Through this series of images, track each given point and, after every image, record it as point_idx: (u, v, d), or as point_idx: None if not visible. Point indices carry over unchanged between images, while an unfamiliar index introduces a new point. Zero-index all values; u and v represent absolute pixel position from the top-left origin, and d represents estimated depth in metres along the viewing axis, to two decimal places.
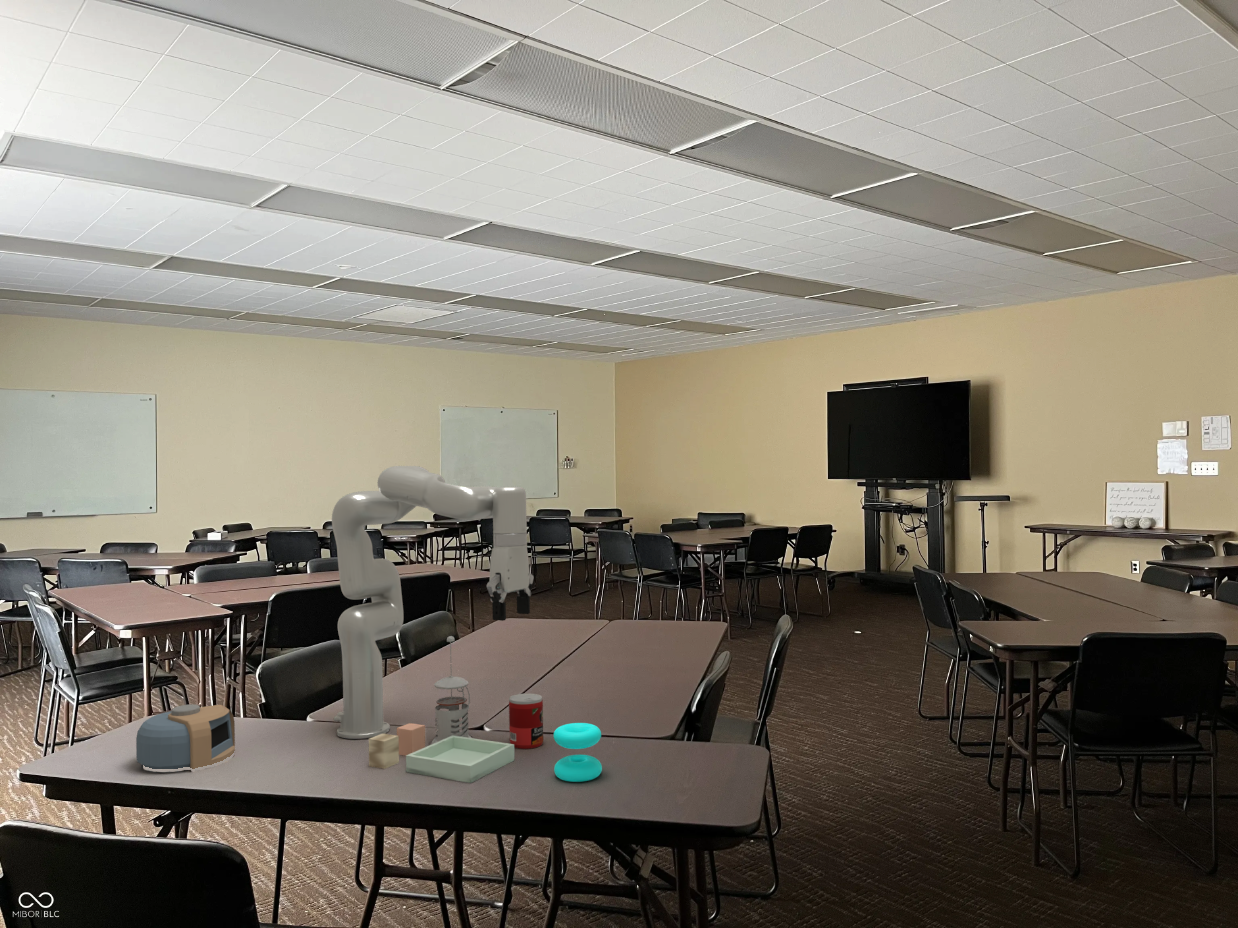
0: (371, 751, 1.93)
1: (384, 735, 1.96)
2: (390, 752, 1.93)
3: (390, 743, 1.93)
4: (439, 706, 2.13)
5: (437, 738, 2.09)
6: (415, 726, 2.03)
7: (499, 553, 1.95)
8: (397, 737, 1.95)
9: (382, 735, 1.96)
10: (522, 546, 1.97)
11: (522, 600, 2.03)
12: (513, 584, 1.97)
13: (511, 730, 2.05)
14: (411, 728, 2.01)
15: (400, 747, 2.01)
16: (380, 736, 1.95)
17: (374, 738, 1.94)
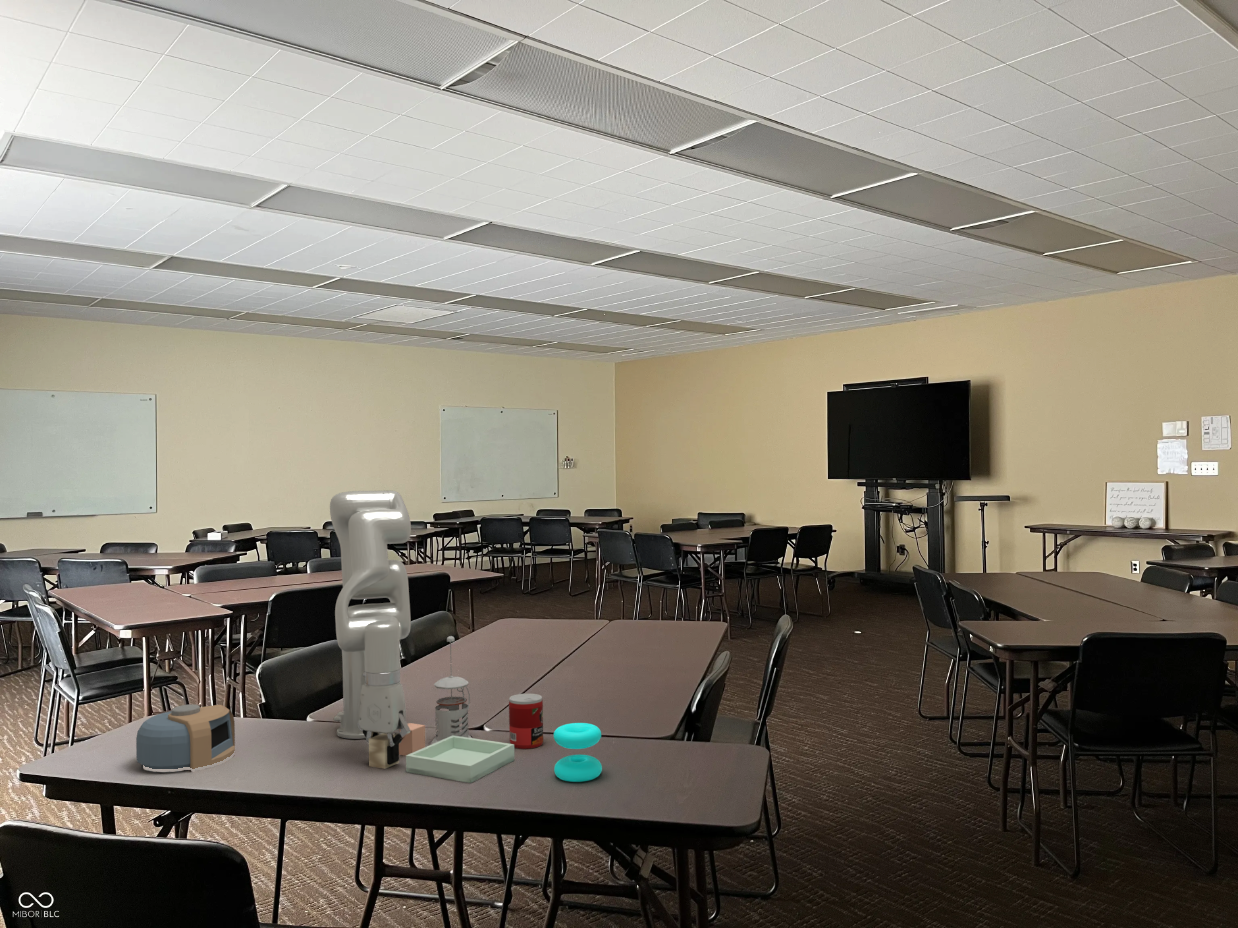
0: (371, 751, 1.93)
1: (384, 735, 1.96)
2: None
3: None
4: (439, 706, 2.13)
5: (437, 738, 2.09)
6: (415, 726, 2.02)
7: (399, 690, 1.93)
8: None
9: (382, 735, 1.96)
10: None
11: None
12: None
13: (511, 730, 2.05)
14: (411, 728, 2.01)
15: (400, 747, 2.01)
16: (380, 736, 1.95)
17: (374, 738, 1.94)
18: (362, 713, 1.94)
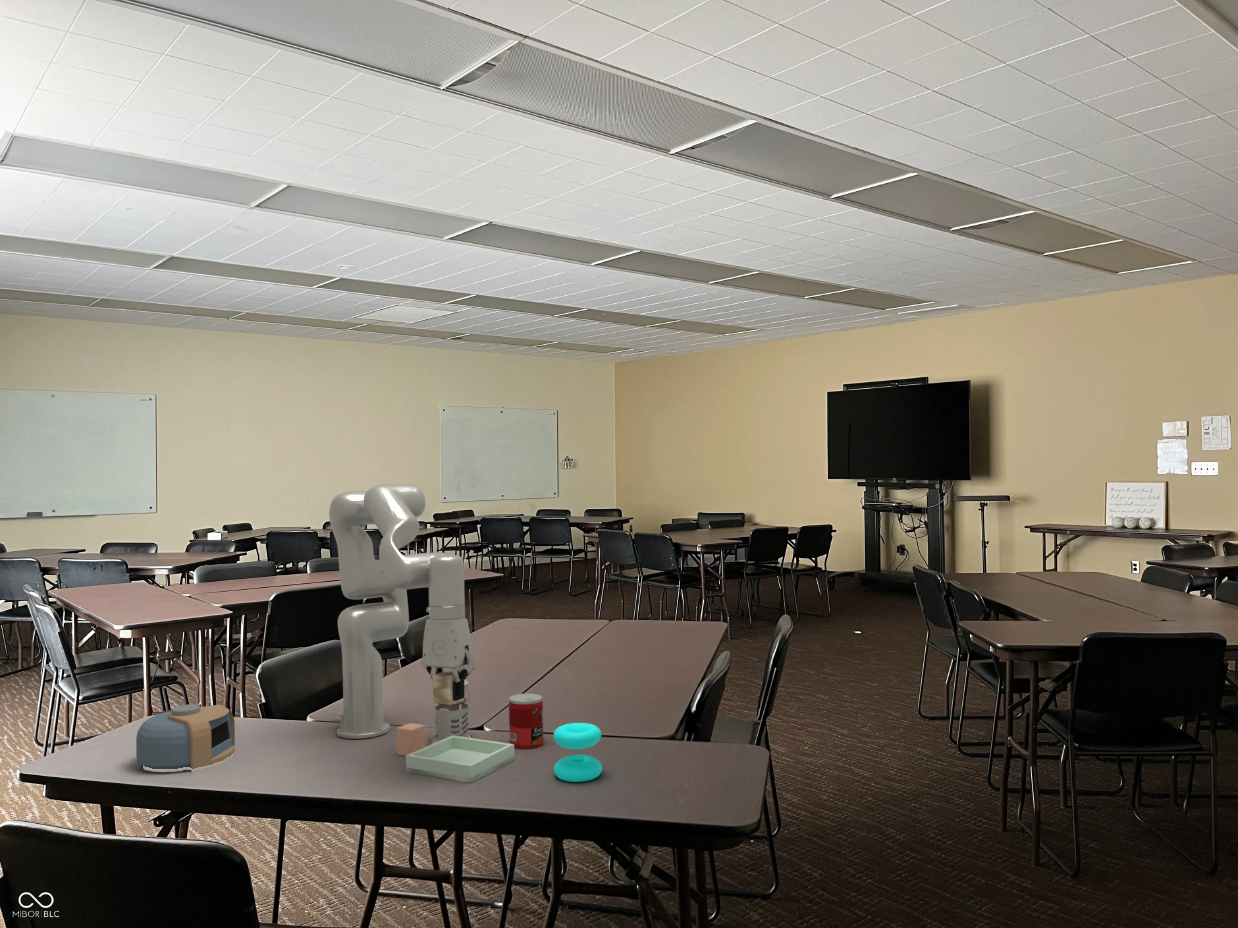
0: (436, 687, 1.88)
1: (448, 672, 1.91)
2: None
3: None
4: (439, 706, 2.13)
5: (437, 738, 2.09)
6: (415, 726, 2.02)
7: (464, 624, 1.87)
8: None
9: (446, 672, 1.91)
10: None
11: None
12: None
13: (511, 730, 2.05)
14: (411, 728, 2.01)
15: (400, 747, 2.01)
16: (444, 672, 1.90)
17: (439, 674, 1.88)
18: (426, 649, 1.89)
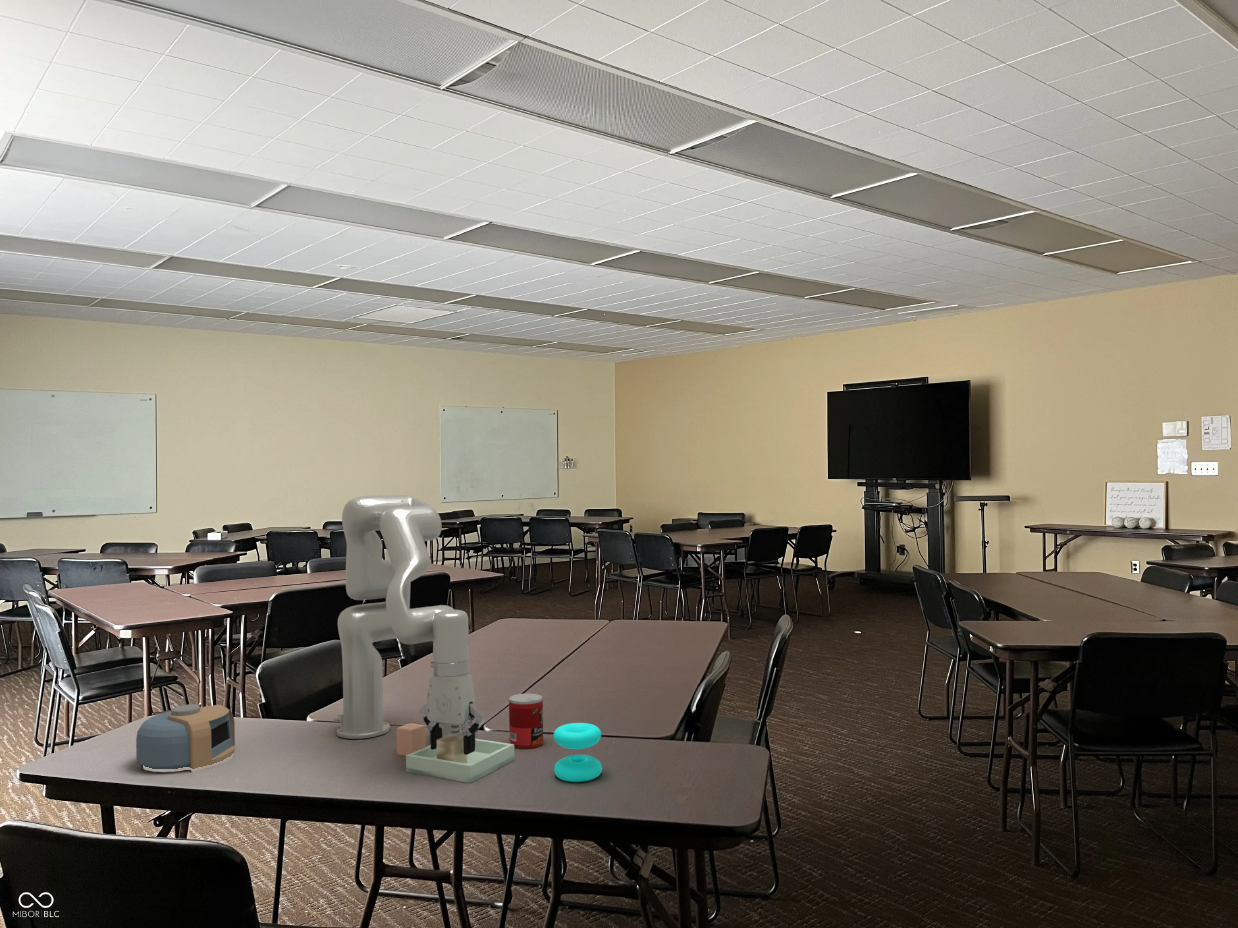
0: (439, 752, 1.88)
1: (452, 736, 1.90)
2: (459, 754, 1.88)
3: (459, 744, 1.88)
4: None
5: None
6: (415, 726, 2.02)
7: (469, 681, 1.87)
8: None
9: (450, 736, 1.90)
10: None
11: (437, 733, 1.91)
12: None
13: (511, 730, 2.05)
14: (411, 728, 2.01)
15: (400, 747, 2.01)
16: (448, 737, 1.90)
17: (442, 739, 1.88)
18: (430, 704, 1.88)
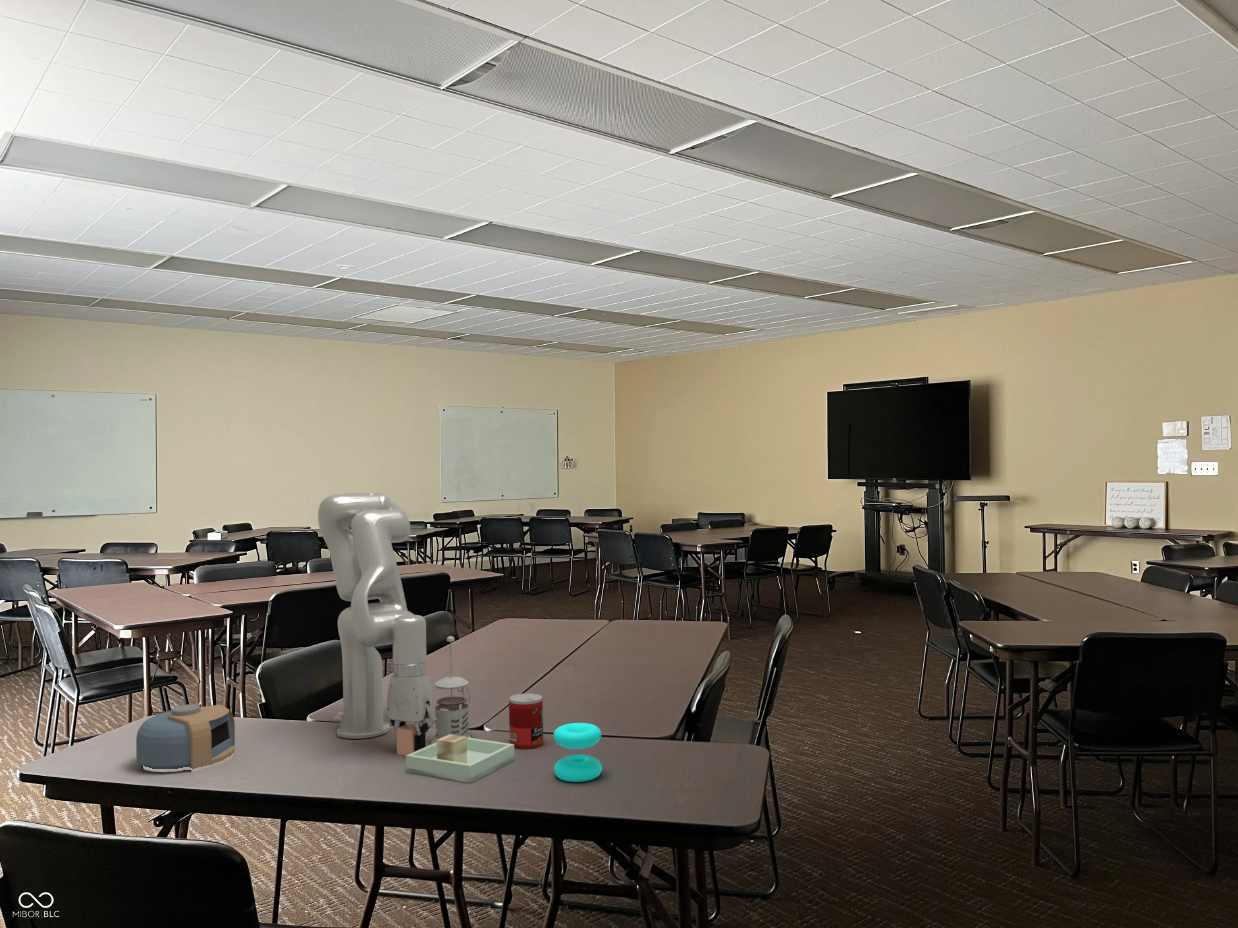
0: (439, 752, 1.88)
1: (452, 736, 1.90)
2: (459, 754, 1.88)
3: (459, 744, 1.88)
4: (439, 706, 2.13)
5: (437, 738, 2.09)
6: None
7: (426, 681, 2.01)
8: (465, 738, 1.90)
9: (450, 736, 1.90)
10: None
11: None
12: None
13: (511, 730, 2.05)
14: (411, 728, 2.01)
15: (400, 747, 2.01)
16: (448, 737, 1.90)
17: (442, 739, 1.88)
18: (390, 703, 2.02)
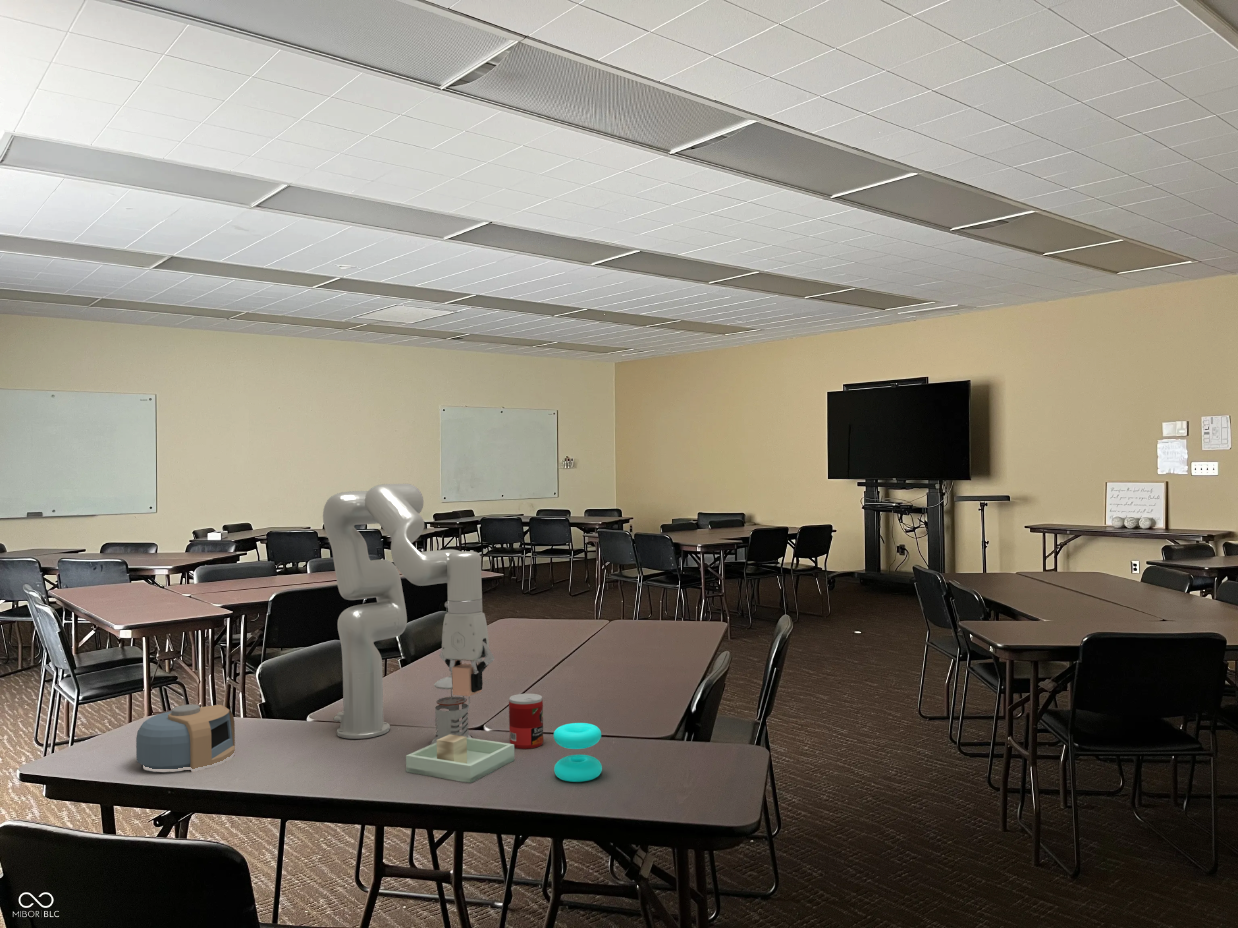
0: (439, 752, 1.88)
1: (452, 736, 1.90)
2: (459, 754, 1.88)
3: (459, 744, 1.88)
4: (439, 706, 2.13)
5: (437, 738, 2.09)
6: (471, 665, 1.96)
7: (482, 618, 1.94)
8: (465, 738, 1.90)
9: (450, 736, 1.90)
10: None
11: None
12: None
13: (511, 730, 2.05)
14: (467, 667, 1.94)
15: (456, 687, 1.94)
16: (448, 737, 1.90)
17: (442, 739, 1.88)
18: (445, 642, 1.95)
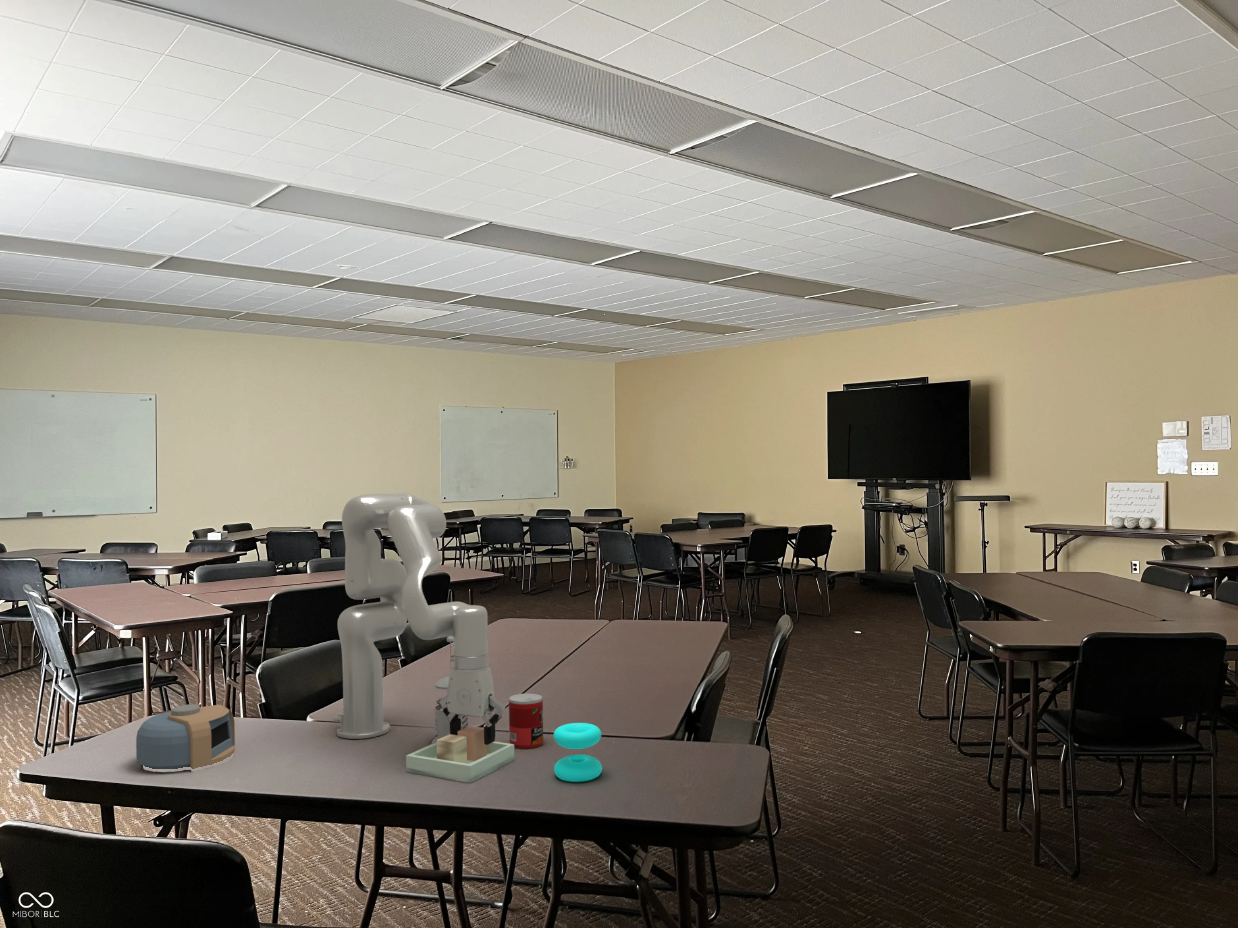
0: (439, 752, 1.88)
1: (452, 736, 1.90)
2: (459, 754, 1.88)
3: (459, 744, 1.88)
4: (439, 706, 2.13)
5: (437, 738, 2.09)
6: (476, 729, 1.95)
7: (488, 674, 1.93)
8: (465, 738, 1.90)
9: (450, 736, 1.90)
10: None
11: (457, 724, 1.97)
12: None
13: (511, 730, 2.05)
14: (473, 731, 1.94)
15: None
16: (448, 737, 1.90)
17: (442, 739, 1.88)
18: (451, 697, 1.94)
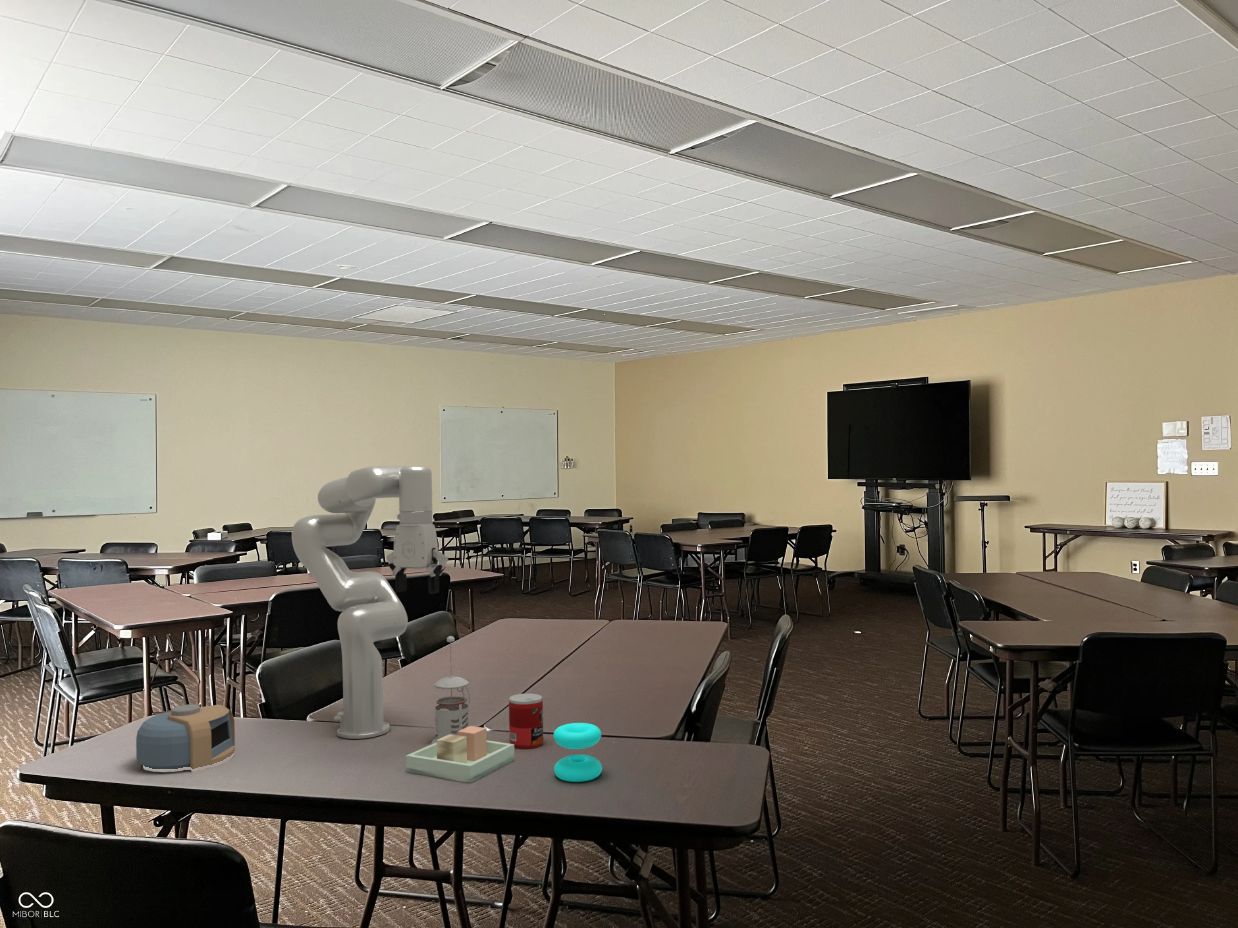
0: (439, 752, 1.88)
1: (452, 736, 1.90)
2: (459, 754, 1.88)
3: (459, 744, 1.88)
4: (439, 706, 2.13)
5: (437, 738, 2.09)
6: (476, 729, 1.95)
7: (432, 529, 2.04)
8: (465, 738, 1.90)
9: (450, 736, 1.90)
10: None
11: (402, 578, 2.08)
12: None
13: (511, 730, 2.05)
14: (473, 731, 1.94)
15: None
16: (448, 737, 1.90)
17: (442, 739, 1.88)
18: (397, 551, 2.05)
